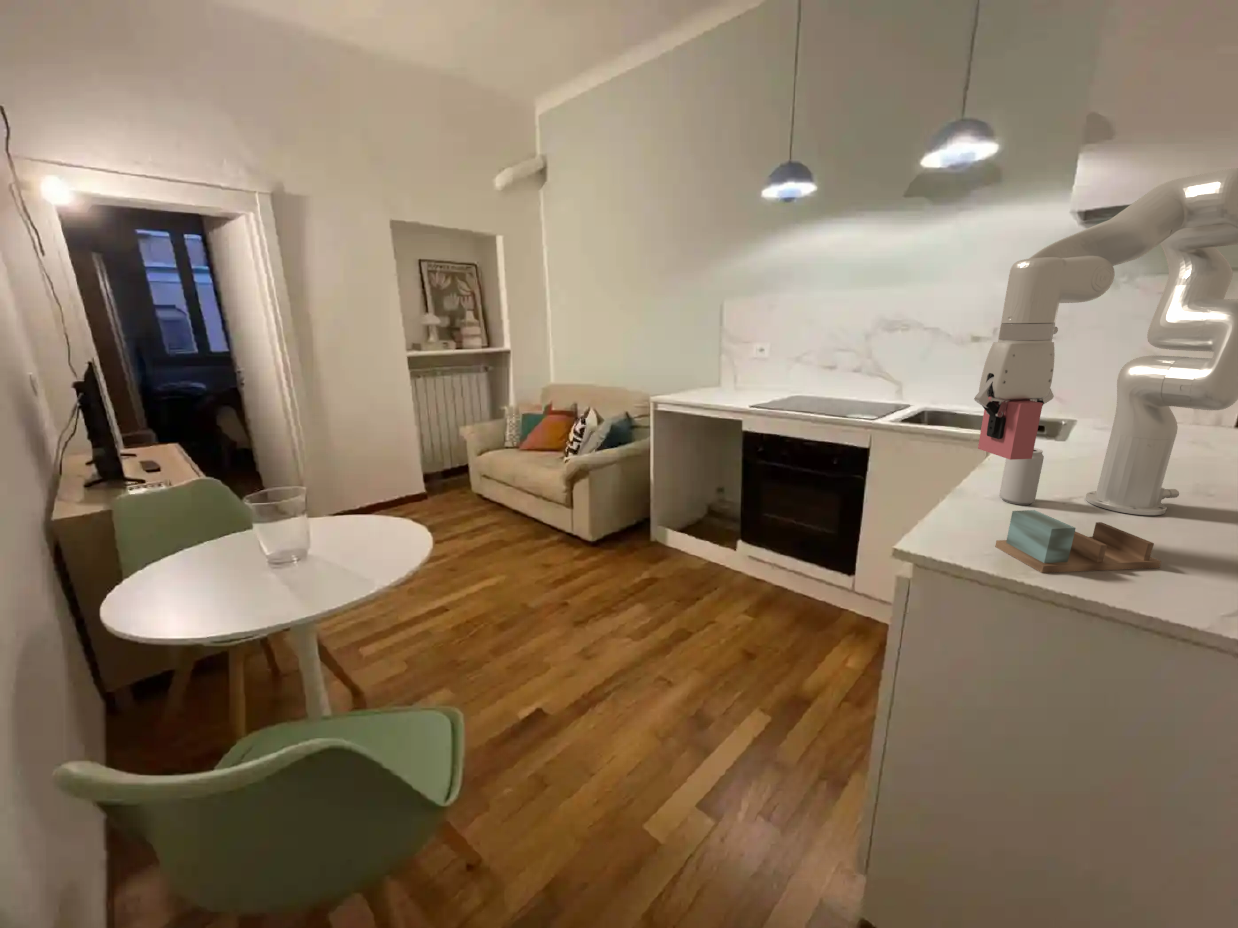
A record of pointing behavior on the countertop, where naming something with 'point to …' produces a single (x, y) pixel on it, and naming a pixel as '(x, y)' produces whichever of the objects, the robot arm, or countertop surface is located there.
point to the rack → (1073, 546)
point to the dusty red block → (1014, 430)
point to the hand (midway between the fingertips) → (1006, 435)
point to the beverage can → (1021, 479)
